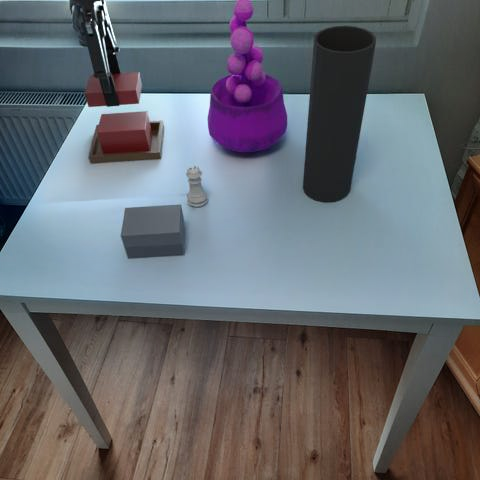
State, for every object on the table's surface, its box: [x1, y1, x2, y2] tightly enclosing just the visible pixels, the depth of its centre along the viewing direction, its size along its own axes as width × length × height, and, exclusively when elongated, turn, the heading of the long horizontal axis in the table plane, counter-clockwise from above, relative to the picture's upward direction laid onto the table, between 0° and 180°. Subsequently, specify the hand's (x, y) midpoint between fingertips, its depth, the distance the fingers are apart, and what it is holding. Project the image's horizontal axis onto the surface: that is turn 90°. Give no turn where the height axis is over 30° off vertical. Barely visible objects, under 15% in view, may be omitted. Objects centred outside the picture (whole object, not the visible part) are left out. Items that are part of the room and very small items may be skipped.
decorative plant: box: [207, 0, 288, 153], centre depth 102 cm, size 19×18×30 cm
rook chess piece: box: [185, 165, 209, 208], centre depth 98 cm, size 4×4×8 cm
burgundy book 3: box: [101, 125, 152, 154], centre depth 113 cm, size 11×8×3 cm
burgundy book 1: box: [84, 71, 143, 108], centre depth 103 cm, size 11×8×3 cm
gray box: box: [120, 203, 186, 260], centre depth 92 cm, size 11×8×6 cm
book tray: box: [87, 120, 165, 165], centre depth 114 cm, size 17×14×3 cm
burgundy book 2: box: [97, 110, 151, 144], centre depth 110 cm, size 11×8×3 cm
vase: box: [302, 25, 377, 203], centre depth 90 cm, size 10×10×30 cm
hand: (115, 94), depth 104 cm, fingers closed on burgundy book 1, 8 cm apart
